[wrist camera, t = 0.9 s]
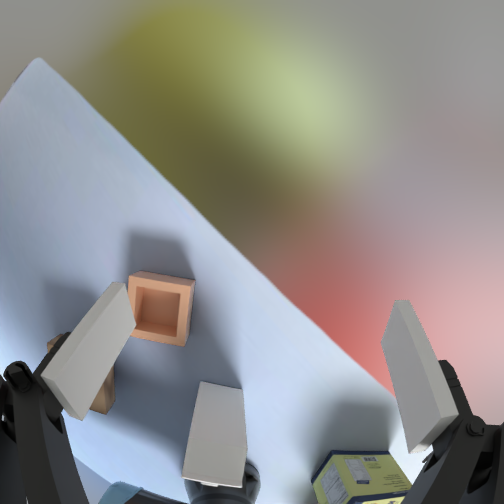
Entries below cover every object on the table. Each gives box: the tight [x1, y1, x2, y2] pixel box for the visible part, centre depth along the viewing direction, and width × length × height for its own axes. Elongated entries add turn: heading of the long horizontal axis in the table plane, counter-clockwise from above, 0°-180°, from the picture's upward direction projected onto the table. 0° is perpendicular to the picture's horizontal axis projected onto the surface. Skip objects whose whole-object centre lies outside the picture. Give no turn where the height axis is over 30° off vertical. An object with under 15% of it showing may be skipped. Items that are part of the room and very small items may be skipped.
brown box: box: [47, 334, 115, 415], centre depth 38 cm, size 10×10×4 cm
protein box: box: [311, 450, 412, 504], centre depth 40 cm, size 10×16×16 cm
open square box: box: [128, 271, 196, 347], centre depth 40 cm, size 9×9×5 cm
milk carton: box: [181, 381, 248, 488], centre depth 35 cm, size 7×7×19 cm
